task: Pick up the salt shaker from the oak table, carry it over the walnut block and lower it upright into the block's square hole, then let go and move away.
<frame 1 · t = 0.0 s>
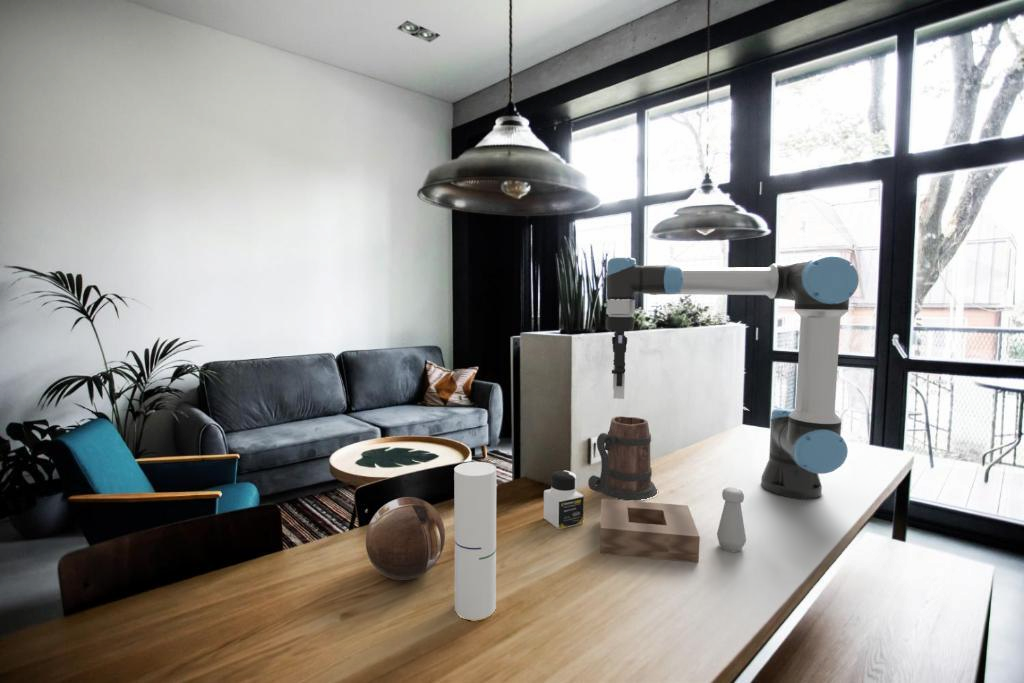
hand: (618, 393, 139), 28 cm above the table, tool pointing down, fingers open, 13 cm apart
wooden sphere: (406, 575, 99), on the table
cylindrical container: (475, 609, 88), on the table
walnut socket block: (645, 539, 114), on the table
medicine bottle: (563, 521, 123), on the table
salt shaker: (730, 548, 111), on the table
tankard: (619, 492, 142), on the table
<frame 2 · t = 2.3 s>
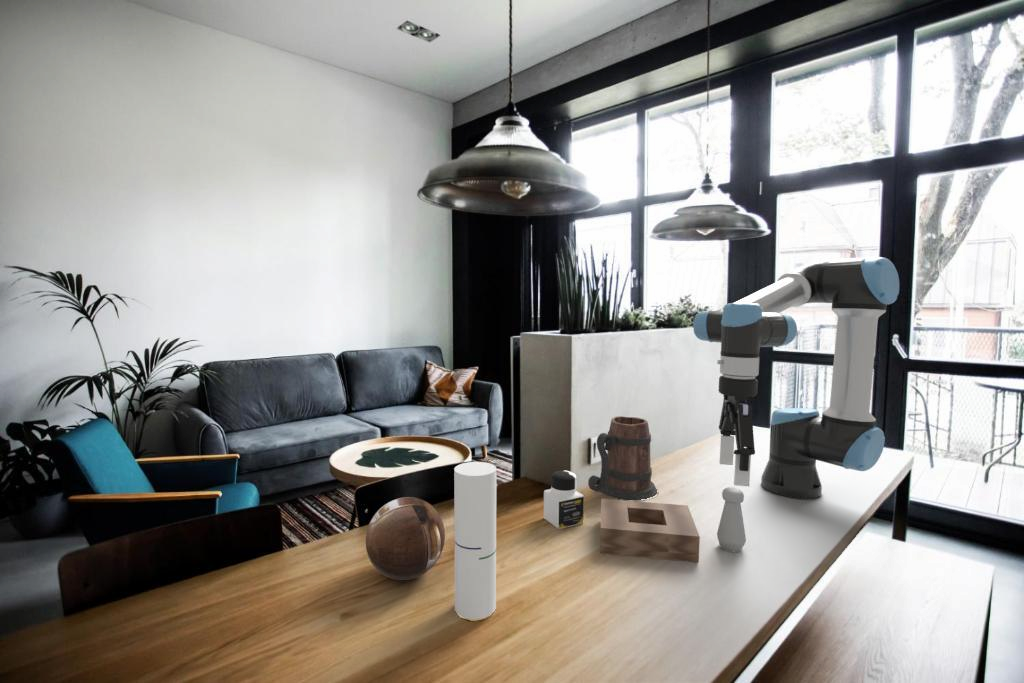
hand: (733, 474, 109), 16 cm above the table, tool pointing down, fingers open, 13 cm apart
nothing on the table moved.
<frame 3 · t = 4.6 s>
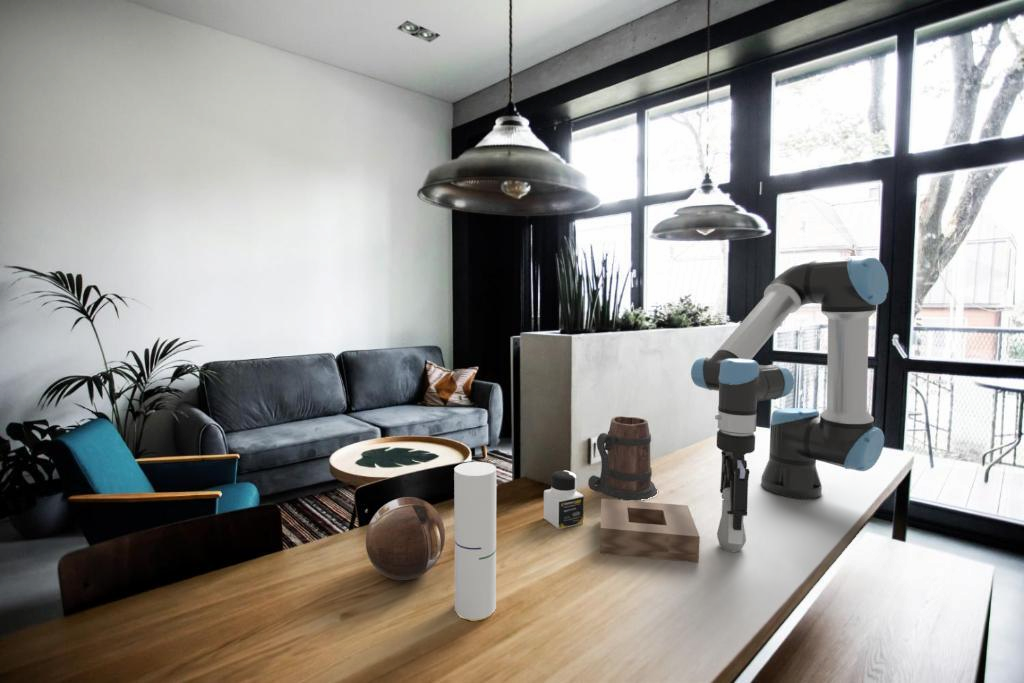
hand: (731, 535, 111), 3 cm above the table, tool pointing down, fingers closed on salt shaker, 6 cm apart
salt shaker: (730, 548, 111), on the table, touching gripper
everything else where it was.
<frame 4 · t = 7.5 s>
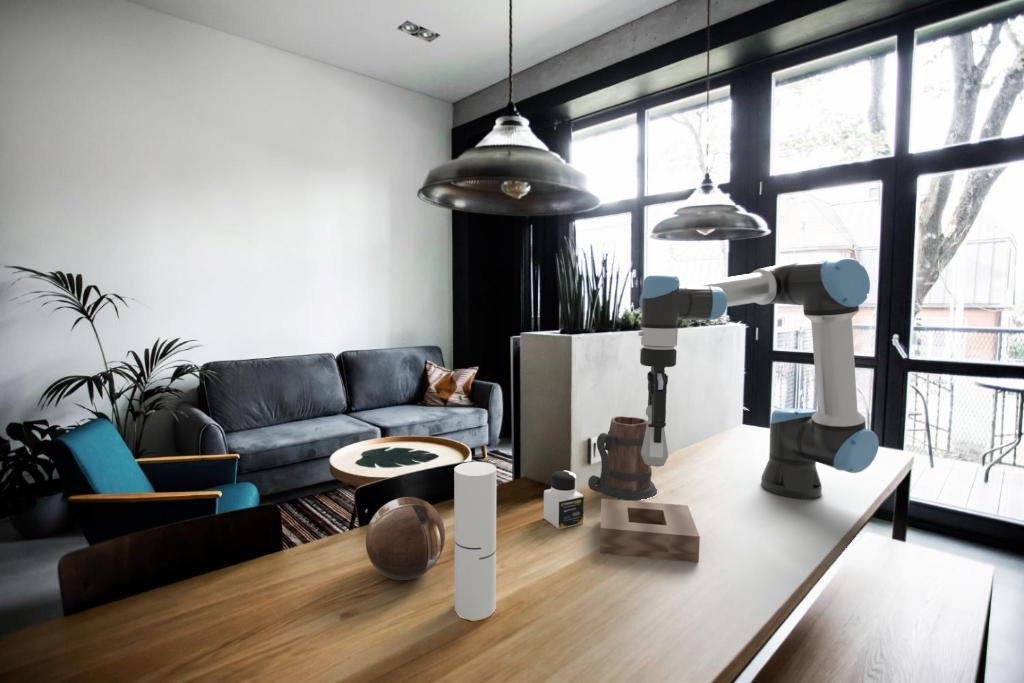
hand: (654, 451, 112), 20 cm above the table, tool pointing down, fingers closed on salt shaker, 6 cm apart
salt shaker: (654, 464, 112), point 17 cm above the table, touching gripper
everything else where it was.
when the fingers open (7 cm above the table, at t = 10.4 s): salt shaker drops 2 cm, resting on walnut socket block.
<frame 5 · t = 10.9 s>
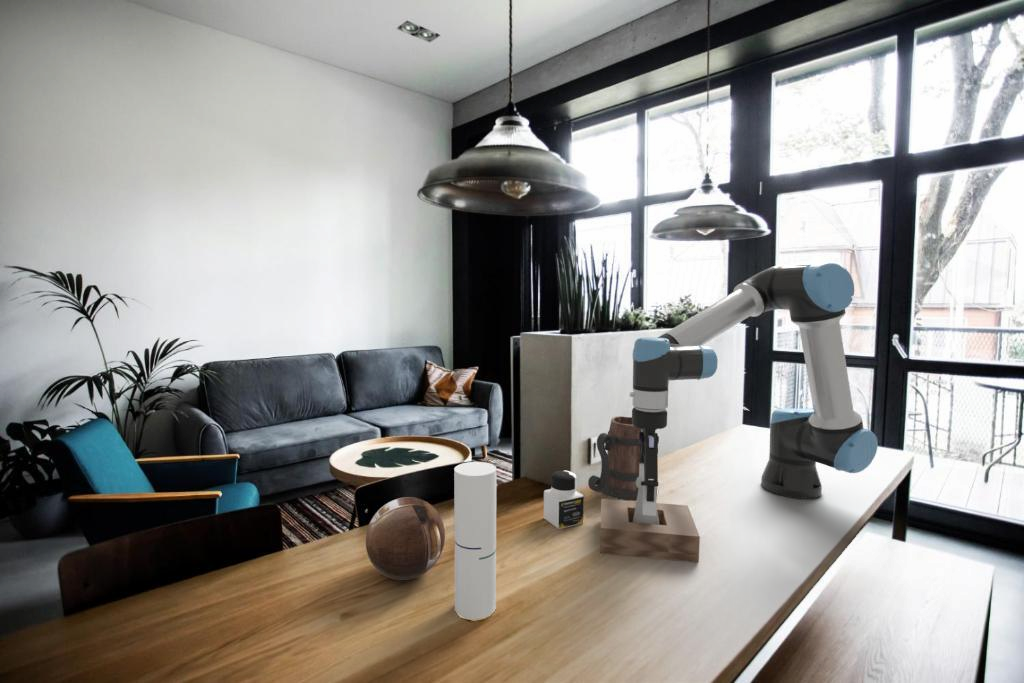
hand: (646, 502, 113), 9 cm above the table, tool pointing down, fingers open, 13 cm apart
salt shaker: (646, 533, 114), point 1 cm above the table, touching walnut socket block
everything else where it was.
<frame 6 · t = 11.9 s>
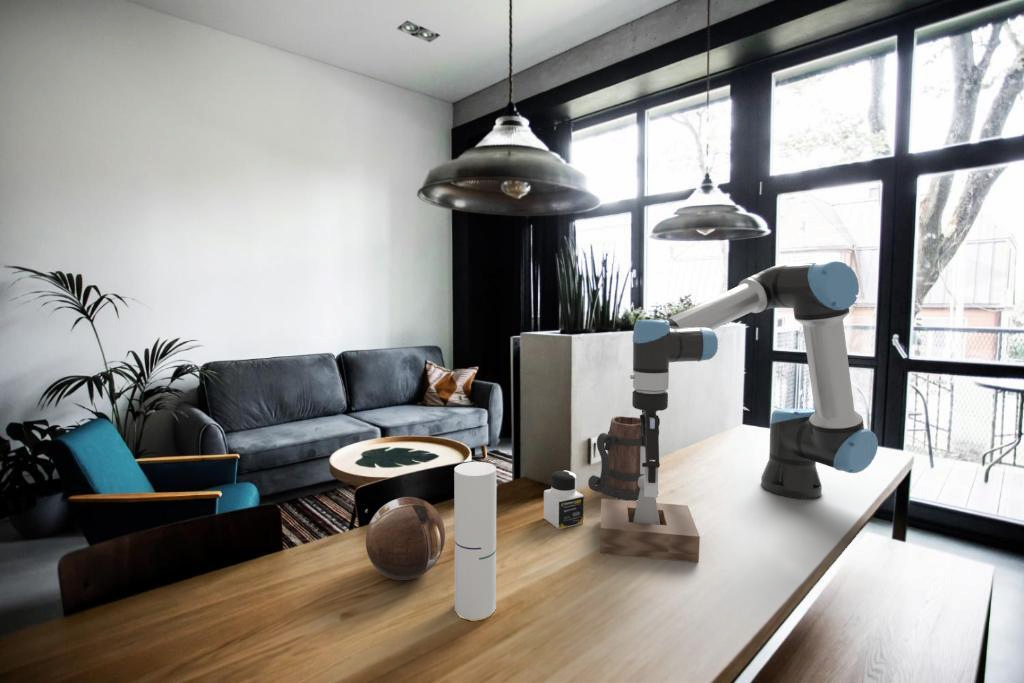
hand: (648, 484, 113), 13 cm above the table, tool pointing down, fingers open, 13 cm apart
nothing on the table moved.
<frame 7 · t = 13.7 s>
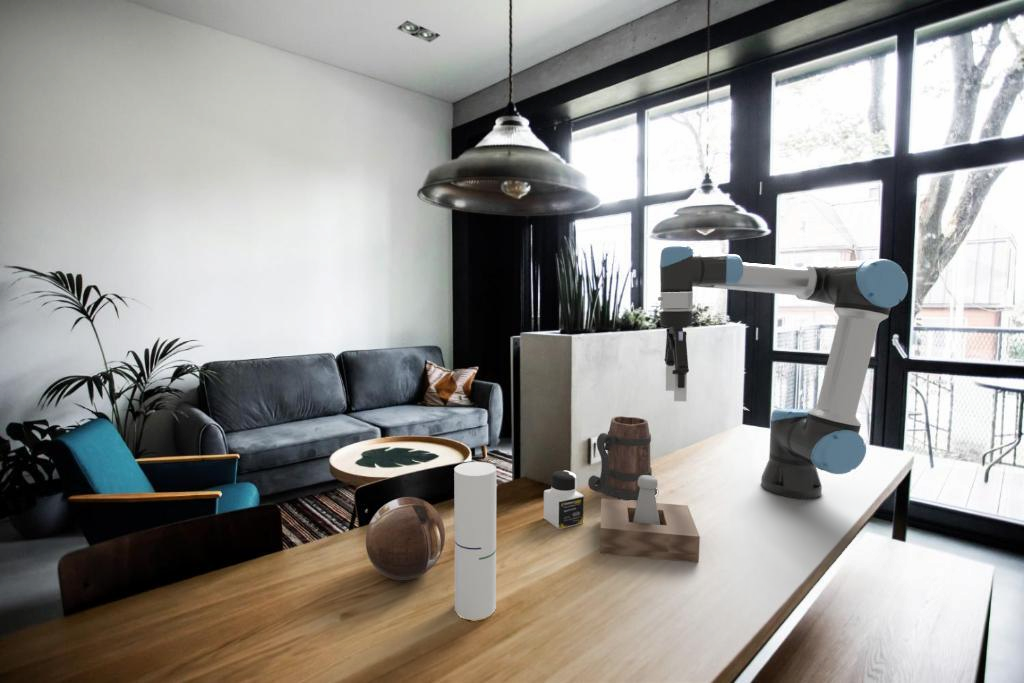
hand: (675, 395, 127), 30 cm above the table, tool pointing down, fingers open, 13 cm apart
nothing on the table moved.
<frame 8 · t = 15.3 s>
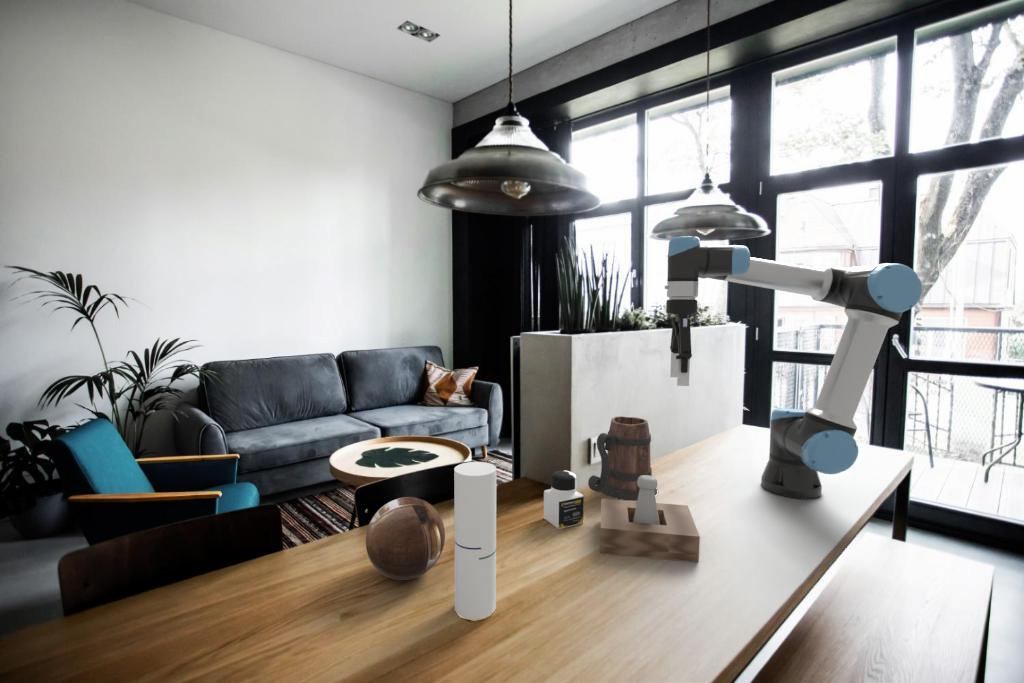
hand: (679, 381, 131), 33 cm above the table, tool pointing down, fingers open, 13 cm apart
nothing on the table moved.
at the end: salt shaker 0.0 cm off-centre on the walnut socket block, point 1.3 cm above the walnut socket block's base; salt shaker tilted 0°; the gripper is holding nothing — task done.
